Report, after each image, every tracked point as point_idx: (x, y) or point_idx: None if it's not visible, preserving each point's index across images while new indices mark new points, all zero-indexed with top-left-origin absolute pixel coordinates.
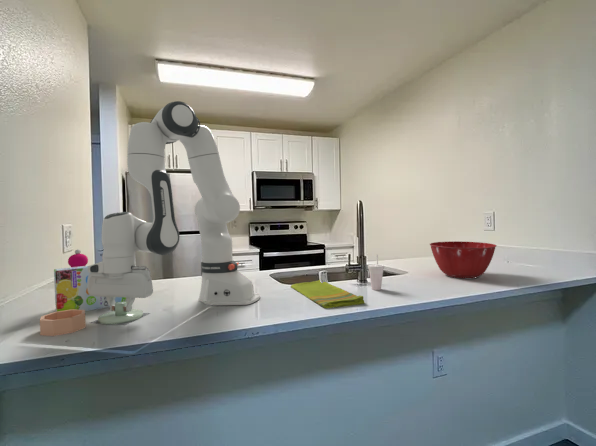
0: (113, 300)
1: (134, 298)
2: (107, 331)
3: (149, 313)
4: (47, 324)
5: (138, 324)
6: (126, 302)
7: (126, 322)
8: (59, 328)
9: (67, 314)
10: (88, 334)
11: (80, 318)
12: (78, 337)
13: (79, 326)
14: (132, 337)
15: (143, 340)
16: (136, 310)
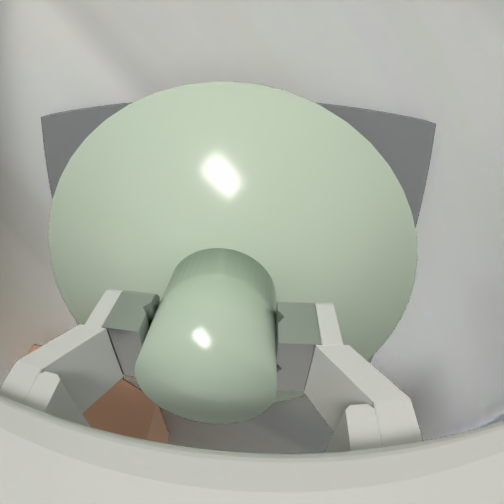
0: (66, 370)
1: (409, 417)
2: (296, 415)
3: (431, 134)
4: None
5: (418, 331)
6: (263, 369)
7: None
8: None
9: None
10: (233, 435)
11: None
12: (221, 449)
13: (158, 438)
14: (433, 425)
15: (468, 425)
16: (296, 147)
